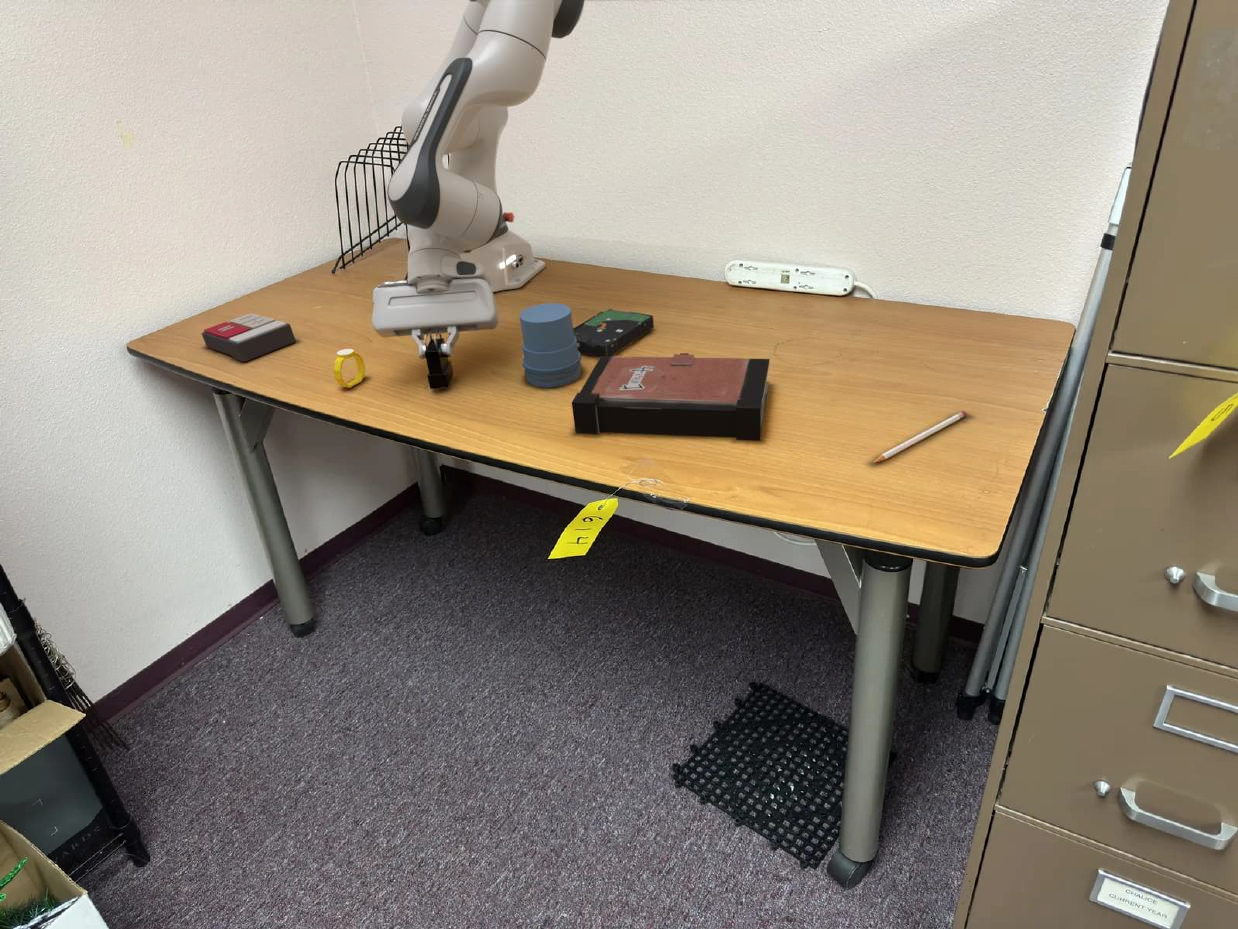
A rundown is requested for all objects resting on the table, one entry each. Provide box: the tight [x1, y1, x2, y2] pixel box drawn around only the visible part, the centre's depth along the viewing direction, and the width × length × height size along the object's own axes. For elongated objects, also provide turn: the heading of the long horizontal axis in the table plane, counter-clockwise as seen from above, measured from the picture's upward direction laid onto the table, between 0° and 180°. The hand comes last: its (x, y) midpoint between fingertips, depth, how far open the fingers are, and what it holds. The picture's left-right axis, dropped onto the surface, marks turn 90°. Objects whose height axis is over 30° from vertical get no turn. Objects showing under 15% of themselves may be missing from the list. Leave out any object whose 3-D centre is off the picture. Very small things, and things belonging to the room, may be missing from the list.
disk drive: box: [573, 308, 654, 358], centre depth 145 cm, size 10×3×15 cm
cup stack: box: [518, 302, 582, 388], centre depth 132 cm, size 10×10×11 cm
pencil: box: [873, 410, 968, 463], centre depth 108 cm, size 1×19×1 cm, turn 125°
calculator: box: [201, 312, 296, 363], centre depth 158 cm, size 11×4×15 cm
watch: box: [333, 348, 366, 389], centre depth 137 cm, size 6×3×6 cm, turn 156°
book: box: [571, 352, 771, 442], centre depth 120 cm, size 26×18×5 cm
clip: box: [423, 329, 455, 390], centre depth 132 cm, size 5×3×8 cm, turn 0°
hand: (436, 356), depth 131 cm, fingers closed on clip, 2 cm apart
